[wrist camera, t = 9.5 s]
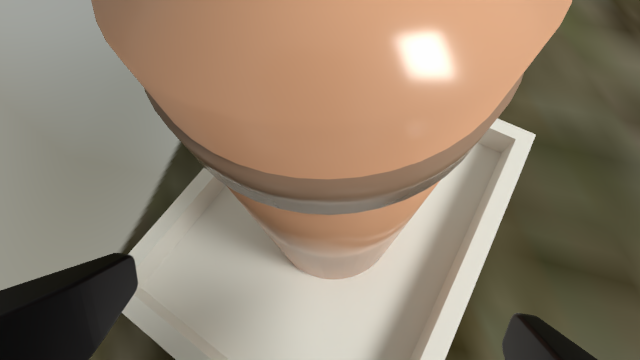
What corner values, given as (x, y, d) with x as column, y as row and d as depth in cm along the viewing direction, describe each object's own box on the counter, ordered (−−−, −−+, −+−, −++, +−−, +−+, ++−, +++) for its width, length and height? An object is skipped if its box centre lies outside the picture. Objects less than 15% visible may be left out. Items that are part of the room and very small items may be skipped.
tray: (366, 493, 12) (374, 532, 10) (130, 294, 16) (96, 290, 13) (510, 157, 18) (535, 134, 16) (316, 70, 22) (314, 41, 20)
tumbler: (393, 290, 14) (664, 170, 3) (259, 271, 15) (-28, 104, 3) (398, 167, 17) (540, -172, 5) (284, 156, 18) (178, -169, 6)
